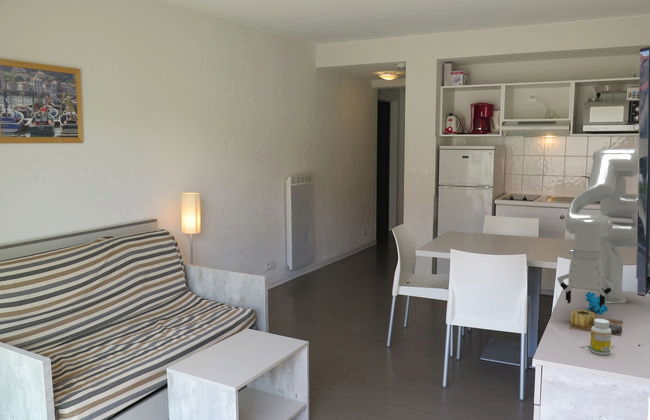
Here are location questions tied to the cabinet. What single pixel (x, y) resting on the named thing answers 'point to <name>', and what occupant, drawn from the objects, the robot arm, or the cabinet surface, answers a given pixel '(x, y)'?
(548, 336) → the cabinet surface
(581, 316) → the brass gear
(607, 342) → the supplement bottle
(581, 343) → the cabinet surface
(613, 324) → the gear board
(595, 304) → the gear
